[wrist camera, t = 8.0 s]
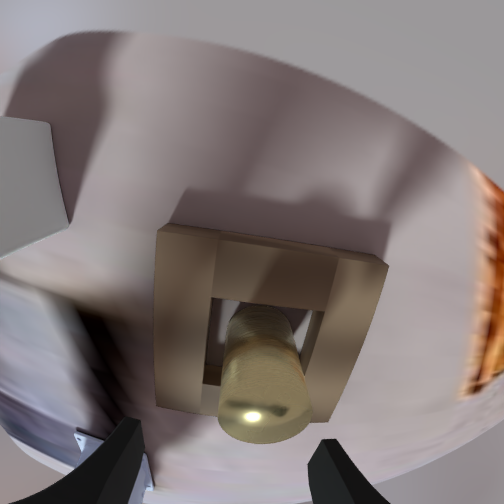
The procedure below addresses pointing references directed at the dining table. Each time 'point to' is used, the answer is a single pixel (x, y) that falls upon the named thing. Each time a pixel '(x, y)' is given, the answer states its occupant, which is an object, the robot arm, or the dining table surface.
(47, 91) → the dining table surface
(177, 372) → the square tan frame
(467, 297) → the dining table surface
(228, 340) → the brass peg
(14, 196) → the medicine bottle
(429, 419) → the dining table surface
